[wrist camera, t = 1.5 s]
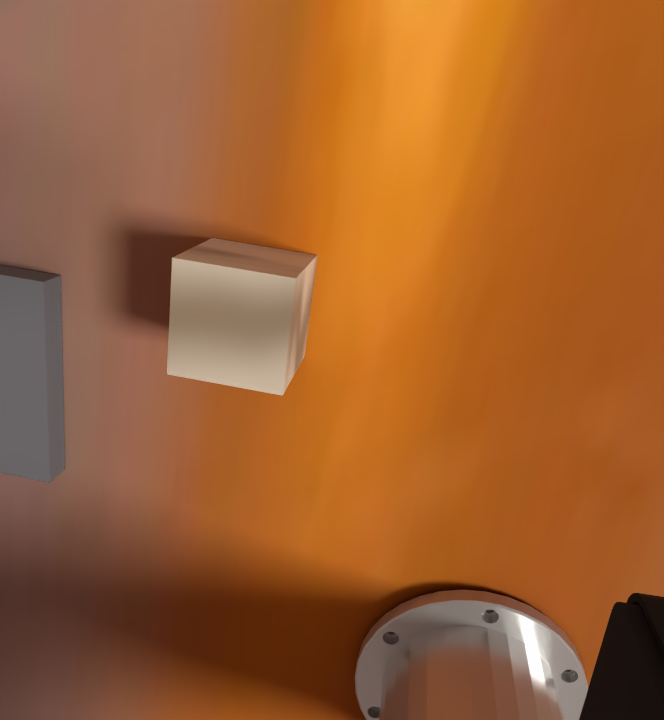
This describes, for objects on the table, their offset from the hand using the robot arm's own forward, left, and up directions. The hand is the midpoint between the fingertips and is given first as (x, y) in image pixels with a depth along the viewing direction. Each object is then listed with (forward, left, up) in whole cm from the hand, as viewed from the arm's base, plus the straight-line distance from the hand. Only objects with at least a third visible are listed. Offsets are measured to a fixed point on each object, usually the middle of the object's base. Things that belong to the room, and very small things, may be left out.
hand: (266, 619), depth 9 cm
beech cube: (-2, +5, -22) cm, 22 cm away
